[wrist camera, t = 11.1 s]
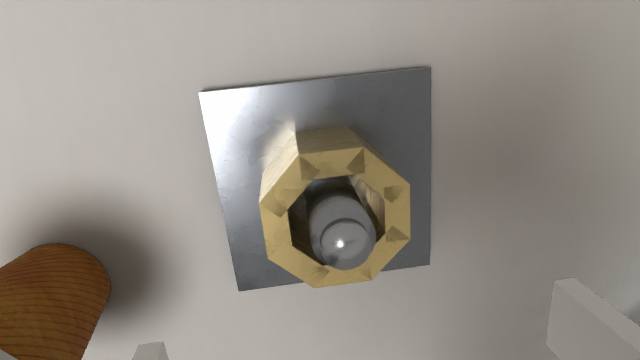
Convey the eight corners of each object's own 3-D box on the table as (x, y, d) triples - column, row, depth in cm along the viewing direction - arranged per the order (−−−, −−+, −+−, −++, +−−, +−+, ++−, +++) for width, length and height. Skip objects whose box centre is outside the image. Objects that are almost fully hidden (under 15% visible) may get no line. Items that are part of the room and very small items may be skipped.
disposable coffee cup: (-44, 280, 26) (-289, 462, 15) (51, 193, 25) (-141, 322, 13) (74, 358, 29) (-55, 558, 18) (163, 285, 28) (85, 451, 16)
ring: (274, 249, 26) (273, 294, 22) (256, 136, 24) (251, 160, 19) (388, 233, 27) (410, 274, 22) (383, 122, 24) (409, 141, 19)
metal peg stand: (240, 283, 28) (224, 382, 20) (201, 90, 23) (159, 118, 15) (424, 257, 29) (482, 342, 21) (424, 66, 24) (500, 79, 16)
